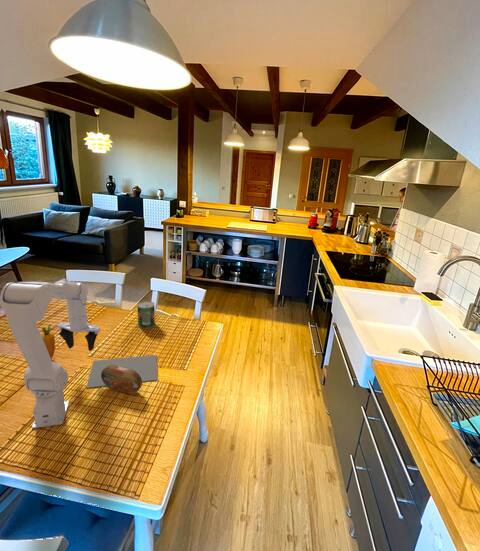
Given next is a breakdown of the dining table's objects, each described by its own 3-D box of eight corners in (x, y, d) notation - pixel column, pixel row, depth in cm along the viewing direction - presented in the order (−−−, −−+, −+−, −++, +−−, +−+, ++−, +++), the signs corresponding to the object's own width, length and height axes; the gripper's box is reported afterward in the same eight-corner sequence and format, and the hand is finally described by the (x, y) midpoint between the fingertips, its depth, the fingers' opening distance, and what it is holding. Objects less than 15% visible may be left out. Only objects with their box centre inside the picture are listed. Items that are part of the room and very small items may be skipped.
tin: (101, 385, 109) (99, 365, 106) (107, 379, 112) (105, 360, 109) (138, 397, 105) (137, 377, 102) (143, 391, 108) (143, 371, 105)
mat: (157, 380, 114) (157, 379, 114) (86, 388, 108) (86, 387, 107) (156, 355, 129) (156, 354, 129) (93, 361, 122) (93, 360, 122)
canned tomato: (135, 323, 152) (134, 303, 148) (150, 319, 157) (149, 299, 153) (142, 330, 147) (141, 309, 143) (157, 325, 152) (157, 305, 148)
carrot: (54, 354, 124) (49, 320, 119) (59, 359, 121) (55, 325, 116) (40, 359, 121) (35, 325, 116) (46, 364, 118) (40, 330, 113)
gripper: (103, 312, 112) (105, 344, 116) (65, 307, 113) (68, 340, 117) (92, 321, 105) (96, 355, 110) (52, 316, 106) (56, 350, 111)
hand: (81, 348), depth 113 cm, fingers open, 7 cm apart
